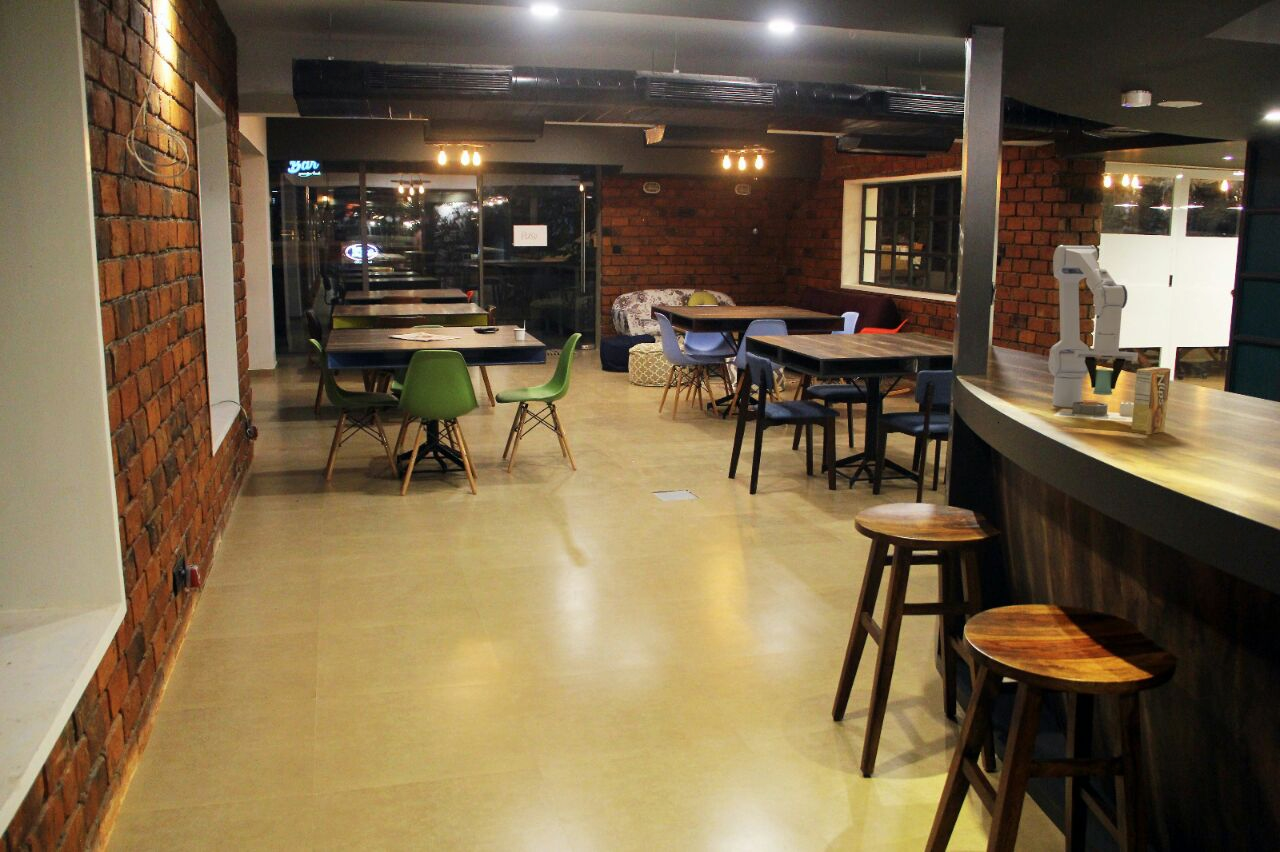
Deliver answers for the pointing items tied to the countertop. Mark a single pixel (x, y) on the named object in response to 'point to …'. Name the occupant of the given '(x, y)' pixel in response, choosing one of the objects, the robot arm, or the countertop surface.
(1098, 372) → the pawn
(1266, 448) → the countertop surface
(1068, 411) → the game board
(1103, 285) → the robot arm
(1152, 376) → the candy box
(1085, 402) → the dome button
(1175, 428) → the countertop surface
